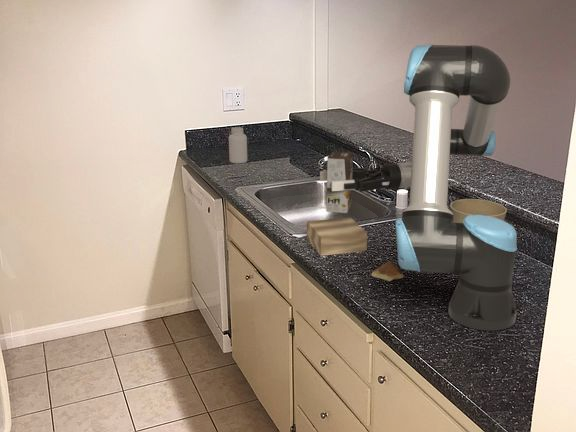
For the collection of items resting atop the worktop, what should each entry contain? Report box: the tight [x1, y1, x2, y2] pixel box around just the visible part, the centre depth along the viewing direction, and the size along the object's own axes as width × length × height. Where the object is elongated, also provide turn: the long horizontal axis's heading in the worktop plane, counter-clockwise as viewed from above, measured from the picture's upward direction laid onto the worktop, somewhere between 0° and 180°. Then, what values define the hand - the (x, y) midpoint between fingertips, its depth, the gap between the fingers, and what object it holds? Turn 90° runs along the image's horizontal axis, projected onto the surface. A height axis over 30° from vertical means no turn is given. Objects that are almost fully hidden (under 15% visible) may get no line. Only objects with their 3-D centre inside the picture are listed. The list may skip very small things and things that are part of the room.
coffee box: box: [325, 151, 354, 214], centre depth 191 cm, size 9×6×16 cm
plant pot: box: [449, 198, 508, 223], centre depth 182 cm, size 15×15×16 cm
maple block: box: [306, 217, 368, 256], centre depth 196 cm, size 14×14×6 cm
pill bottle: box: [228, 126, 248, 164], centre depth 290 cm, size 8×8×15 cm
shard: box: [371, 259, 405, 282], centre depth 177 cm, size 11×8×2 cm
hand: (325, 181), depth 190 cm, fingers closed on coffee box, 10 cm apart
